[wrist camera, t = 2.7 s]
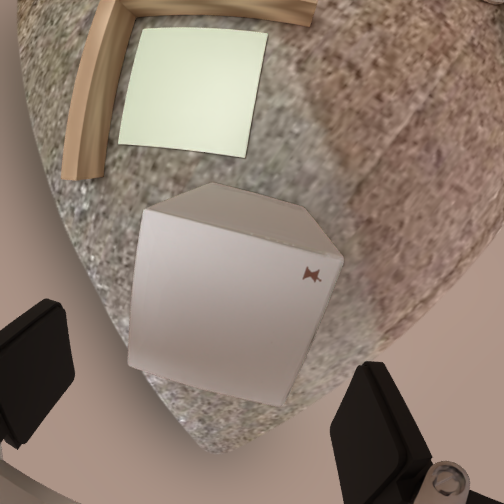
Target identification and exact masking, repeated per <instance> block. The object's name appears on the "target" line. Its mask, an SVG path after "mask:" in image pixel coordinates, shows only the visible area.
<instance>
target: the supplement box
mask: <svg viewBox="0 0 504 504" xmlns="http://www.w3.org/2000/svg"><path fill="white" fill-rule="evenodd" d="M343 264H344V257H343V256H342V254H341V253H340V252H339V250H338V249H337V248H336V247H335V245H334V244H333V242H332V241H331V240H330V239H329V238H328V236H327V235H326V234H325V232H324V231H323V230H322V229H321V227H320V226H319V225H318V223H317V222H316V221H315V220H314V218H313V217H312V216H311V215H310V214H309V212H308V211H307V210H306V209H305V207H302V206H299V205H295V204H292V203H289V202H285V201H282V200H278V199H275V198H271V197H268V196H264V195H261V194H257V193H253V192H250V191H246V190H242V189H238V188H234V187H231V186H227V185H222V184H218V183H214V182H211V183H208V184H206V185H203V186H200V187H198V188H195V189H192V190H190V191H187V192H184V193H182V194H179V195H177V196H175V197H172V198H170V199H167V200H165V201H162V202H160V203H158V204H155V205H153V206H150V207H148V208H146V209H144V210H143V215H142V221H141V226H140V233H139V239H138V245H137V252H136V260H135V268H134V277H133V287H132V297H131V308H130V322H129V343H128V365H129V366H131V367H133V368H136V369H139V370H142V371H145V372H147V373H150V374H153V375H156V376H159V377H162V378H166V379H169V380H172V381H175V382H179V383H182V384H185V385H189V386H192V387H196V388H200V389H203V390H207V391H211V392H216V393H220V394H224V395H228V396H233V397H237V398H241V399H245V400H249V401H253V402H258V403H263V404H268V405H272V406H277V407H281V406H282V405H283V404H284V403H285V402H286V400H287V397H288V395H289V393H290V391H291V389H292V387H293V385H294V382H295V380H296V378H297V376H298V374H299V372H300V369H301V367H302V365H303V363H304V360H305V358H306V356H307V354H308V352H309V349H310V347H311V345H312V343H313V341H314V339H315V337H316V333H317V330H318V328H319V325H320V323H321V320H322V318H323V315H324V313H325V310H326V308H327V305H328V303H329V300H330V297H331V295H332V292H333V290H334V287H335V284H336V282H337V279H338V276H339V274H340V271H341V269H342V267H343Z"/></svg>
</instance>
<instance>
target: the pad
mask: <svg viewBox="0 0 504 504" xmlns="http://www.w3.org/2000/svg"><path fill="white" fill-rule="evenodd" d="M267 37H268V33H260V32H252V31H243V30H231V29H216V28H150V29H143V31H142V34H141V38H140V41H139V45H138V49H137V52H136V56H135V60H134V64H133V68H132V72H131V77H130V81H129V86H128V90H127V95H126V100H125V105H124V111H123V116H122V122H121V128H120V134H119V141H118V144H127V145H140V146H152V147H163V148H173V149H183V150H191V151H199V152H207V153H215V154H222V155H229V156H236V157H242V158H245V156H246V151H247V145H248V139H249V133H250V128H251V122H252V117H253V111H254V106H255V100H256V95H257V89H258V84H259V78H260V73H261V68H262V63H263V57H264V52H265V47H266V42H267Z"/></svg>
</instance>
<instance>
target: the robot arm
mask: <svg viewBox="0 0 504 504" xmlns="http://www.w3.org/2000/svg"><path fill="white" fill-rule="evenodd" d="M484 1H486V2H488V3H492V4H502V3H504V0H484ZM74 377H75V370H74V365H73V360H72V354H71V348H70V341H69V334H68V327H67V319H66V312H65V310H64V309H63V307H62V305H61V304H60V303H59V302H56V301H53V300H50V299H43V300H42V301H40V302H39V303H38V304H36V305H35V306H33V307H32V308H31V309H29V310H28V311H26V312H25V313H23V314H22V315H21V316H19V317H18V318H17V319H15V320H14V321H13V322H11V323H10V324H8V325H7V326H6V327H5V328H3V329H2V330H0V504H80V503H78V502H76V501H74V500H72V499H69V498H67V497H65V496H63V495H61V494H59V493H57V492H55V491H53V490H52V489H50V488H48V487H46V486H44V485H42V484H40V483H39V482H37V481H35V480H33V479H32V478H30V477H28V476H27V475H25V474H23V473H22V472H20V471H19V470H17V469H15V468H14V467H12V466H11V465H9V464H8V463H6V462H5V461H4V460H3V455H2V447H1V442H2V440H3V439H4V440H5V441H6V443H8V444H10V445H11V446H13V447H14V448H16V449H17V450H18V449H19V447H20V446H21V444H25V443H27V441H28V440H29V439H30V437H31V436H32V435H33V433H34V432H35V431H36V429H37V428H38V427H39V425H40V424H41V422H42V421H43V420H44V418H45V417H46V416H47V414H48V413H49V412H50V410H51V409H52V408H53V407H54V405H55V404H56V403H57V401H58V400H59V399H60V398H61V396H62V395H63V394H64V392H65V391H66V390H67V389H68V387H69V386H70V385H71V383H72V382H73V380H74ZM330 436H331V441H332V446H333V450H334V456H335V460H336V465H337V470H338V475H339V480H340V486H341V490H342V495H343V501H344V504H504V503H501V502H498V501H496V500H493V499H491V498H488V497H486V496H483V495H481V494H479V493H476V492H474V491H472V490H469V489H470V479H469V476H468V474H467V472H466V471H465V470H464V469H463V468H462V467H461V466H459V465H458V464H456V463H454V462H450V461H441V462H437V463H435V464H434V465H433V463H432V461H431V458H432V455H431V453H430V451H429V449H428V447H427V445H426V442H425V441H424V438H423V436H422V435H421V432H420V431H419V428H418V426H417V424H416V422H415V421H414V419H413V417H412V415H411V413H410V411H409V409H408V407H407V405H406V403H405V401H404V399H403V397H402V396H401V394H400V392H399V390H398V388H397V386H396V385H395V383H394V381H393V379H392V377H391V375H390V373H389V372H388V370H387V368H386V366H385V364H384V363H383V362H372V361H366V362H364V363H363V364H362V365H359V366H358V367H357V369H356V371H355V373H354V375H353V378H352V380H351V382H350V385H349V387H348V389H347V392H346V394H345V396H344V398H343V400H342V402H341V405H340V407H339V409H338V411H337V413H336V415H335V417H334V419H333V421H332V423H331V426H330Z"/></svg>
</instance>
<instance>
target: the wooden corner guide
mask: <svg viewBox="0 0 504 504" xmlns="http://www.w3.org/2000/svg"><path fill="white" fill-rule="evenodd" d="M317 2H318V0H100V3H99V5H98V8H97V11H96V13H95V16H94V19H93V22H92V25H91V28H90V31H89V34H88V37H87V40H86V43H85V47H84V50H83V54H82V57H81V61H80V65H79V69H78V73H77V77H76V81H75V86H74V90H73V95H72V100H71V105H70V110H69V116H68V122H67V129H66V136H65V143H64V151H63V161H62V172H61V179H66V180H83V179H90V178H98V177H103V175H104V166H105V157H106V150H107V142H108V135H109V129H110V123H111V117H112V111H113V106H114V101H115V96H116V91H117V86H118V82H119V77H120V73H121V69H122V65H123V61H124V57H125V53H126V50H127V46H128V42H129V39H130V36H131V32H132V29H133V26H134V23H135V19H136V17H146V16H162V15H219V16H235V17H246V18H256V19H264V20H272V21H278V22H285V23H291V24H296V25H302V26H307V27H310V25H311V22H312V18H313V15H314V12H315V9H316V6H317Z"/></svg>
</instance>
